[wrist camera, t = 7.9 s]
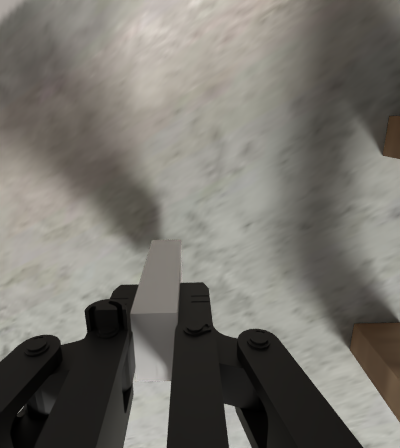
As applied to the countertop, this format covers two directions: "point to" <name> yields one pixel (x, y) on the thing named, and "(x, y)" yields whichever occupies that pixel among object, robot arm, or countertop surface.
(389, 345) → the bridge
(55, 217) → the countertop surface
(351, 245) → the countertop surface
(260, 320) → the countertop surface
